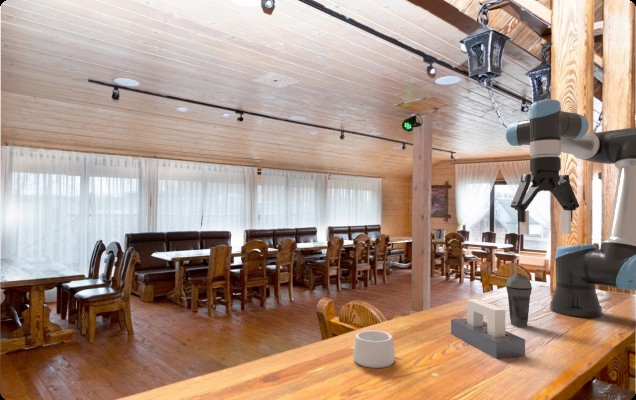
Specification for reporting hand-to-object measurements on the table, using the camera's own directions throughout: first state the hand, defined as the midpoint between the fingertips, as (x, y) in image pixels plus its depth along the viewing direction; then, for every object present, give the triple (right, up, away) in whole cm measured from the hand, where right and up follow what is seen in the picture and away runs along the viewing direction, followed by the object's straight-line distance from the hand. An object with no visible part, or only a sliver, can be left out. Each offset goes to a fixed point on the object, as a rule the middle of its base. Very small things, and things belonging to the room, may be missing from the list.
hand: (545, 234), depth 114 cm
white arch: (-18, -29, -5) cm, 34 cm away
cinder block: (-19, -29, -5) cm, 34 cm away
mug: (-49, -29, -16) cm, 59 cm away
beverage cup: (-1, -29, +13) cm, 32 cm away
